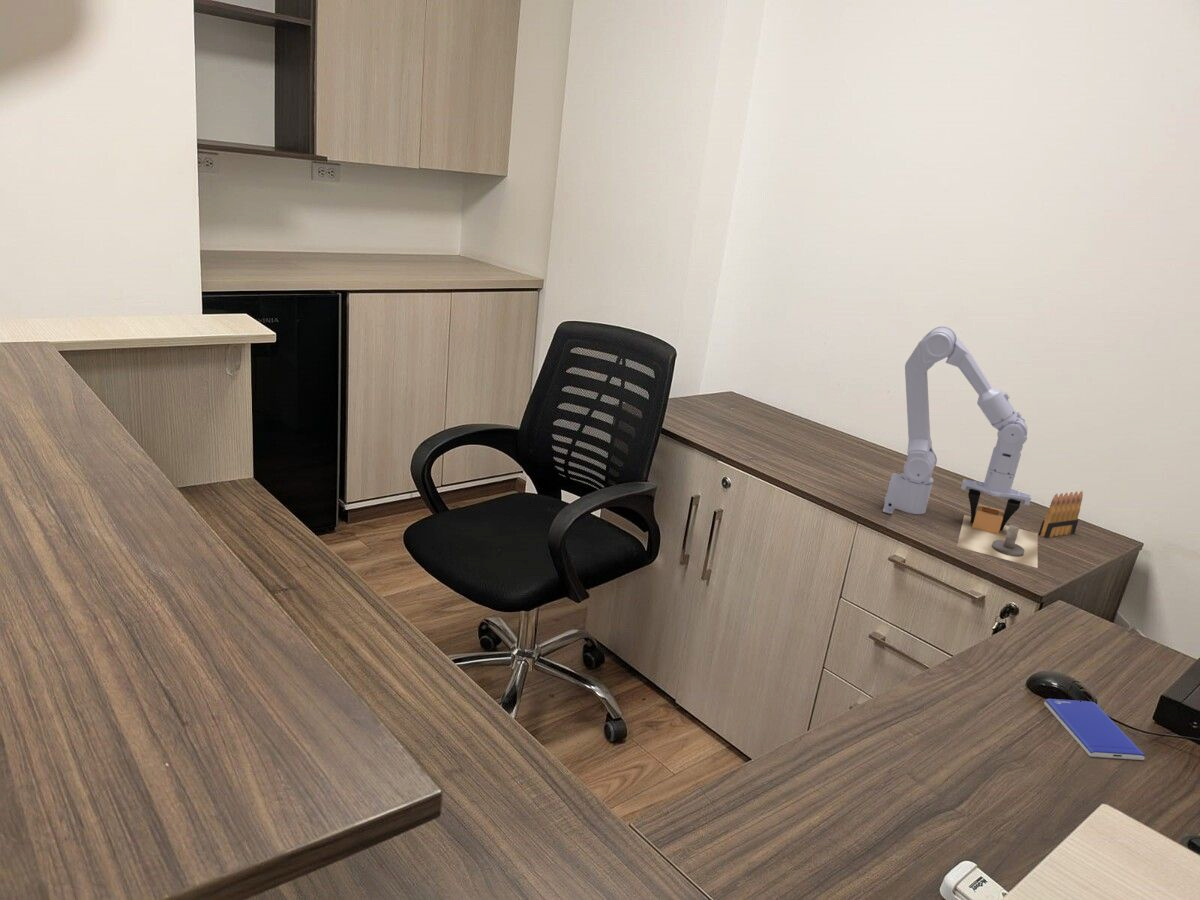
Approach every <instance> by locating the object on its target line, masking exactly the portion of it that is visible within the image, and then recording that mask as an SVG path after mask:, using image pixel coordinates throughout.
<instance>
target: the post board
mask: <svg viewBox="0 0 1200 900" xmlns="http://www.w3.org/2000/svg"><path fill="white" fill-rule="evenodd" d="M970 521H971V515H966V514H964V515H963V520H962V523H961V527H960V532H959V536H958V540H957V544H956V547H957V548H961V549H964V550H969V551H972V552H976V553H980V554H983V555H987V556H991V557H995V558H998V559H1002V560H1004V561H1009V562H1013V563H1016V564H1020V565H1024V566H1028V567H1032V568H1035V569H1038V567H1039V565H1038V564H1039V561H1038V559H1039V558H1038V557H1039V556H1038V547H1039V537H1038V536H1039V535H1038V534H1039V532H1034V531H1031V530H1030V531H1029V530H1025V529H1022V528H1020V527H1019V526H1018V525H1014V524H1009V525H1006V524H1005V526H1004V528H1003V530H1002V531H1001V530H999V534H995V533H991V532H987V531H984V530H980V529H976V528H972V526H973V523H970ZM973 556H974V557H976V556H975V555H973ZM984 559H985V560H988V561H990V560H989V559H986V558H984ZM988 561H987V562H988Z"/></svg>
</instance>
